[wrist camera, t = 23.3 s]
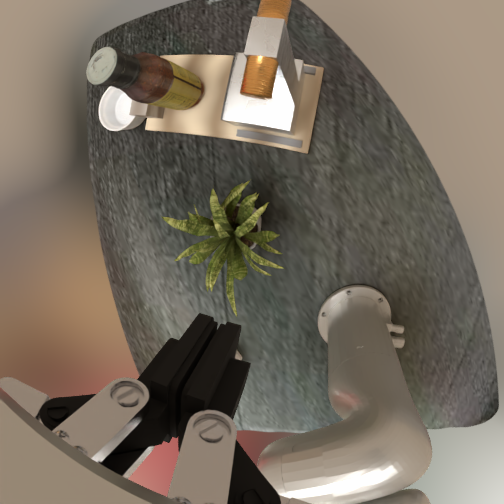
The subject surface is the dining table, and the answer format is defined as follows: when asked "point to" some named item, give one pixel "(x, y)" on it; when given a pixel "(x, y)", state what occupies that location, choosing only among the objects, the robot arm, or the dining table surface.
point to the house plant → (228, 238)
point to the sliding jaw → (265, 75)
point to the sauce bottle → (146, 78)
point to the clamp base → (210, 107)
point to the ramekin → (117, 111)
